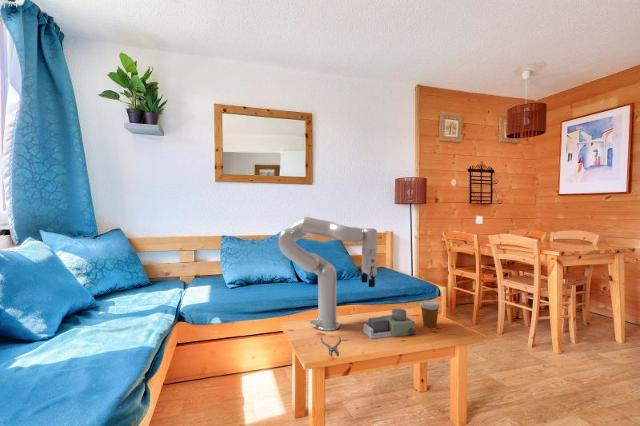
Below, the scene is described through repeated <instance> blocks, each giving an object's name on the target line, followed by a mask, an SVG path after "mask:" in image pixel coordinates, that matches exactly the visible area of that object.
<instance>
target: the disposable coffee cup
mask: <svg viewBox="0 0 640 426" xmlns="http://www.w3.org/2000/svg"><path fill="white" fill-rule="evenodd" d="M420 308H421V317H422V323H423V327H426V328H429V329H434V328H436V327H437V322H438V315H439V308H440V305H439V303H438V302H437V301H433V300H422V301H421V302H420Z"/></svg>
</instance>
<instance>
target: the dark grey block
mask: <svg viewBox="0 0 640 426" xmlns="http://www.w3.org/2000/svg"><path fill="white" fill-rule="evenodd" d="M368 325H369V326H370V327H371V328H372V329H373V333H380V332H387V331H388V320H387V319H386V318H384V317H381V316H378V317H377V316H376V317H369V318H368Z"/></svg>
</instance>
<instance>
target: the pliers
mask: <svg viewBox="0 0 640 426" xmlns="http://www.w3.org/2000/svg"><path fill="white" fill-rule="evenodd" d="M337 338H338V339H339V340H338V341H337V342H336V343H335V344H334V345H333V346H331V345H329V344H328V343H326V342H324V341H323V336H321V337H320V342H321V343H322V344H323V345H325V346H326V347H327V348H328V352H327V353H328V355H329V356H330V357H332V353H333V352H334V354H335V355H336V356H337V357H339V350H338V345H339V344H340V343H341V342H342V341H341V336H338V337H337Z"/></svg>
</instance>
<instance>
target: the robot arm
mask: <svg viewBox="0 0 640 426" xmlns="http://www.w3.org/2000/svg"><path fill="white" fill-rule="evenodd" d="M306 235H315V236H319V237H322V238H323V237H324V238H329V239H333V240H338V241H343V242H348V243H353V244H357V243H360V242H361V255H362V257H361V266H360V267H361V273H360V274H361V281H360V282H361V283H368V288H375V287H376V276H377V274H378V271H377V270H378V267H377V266H378V264H377V263H378V262H377V246H378V245H377V239H378V230H377V229H375V228H370V227H369V228H368V227H366V228H364V227H363V228H362V227H361V228H360V227H357V226H356V227H354V226H353V227H352V226H347V225H342V224H339V223H336V222H333V221H329V220H324V219H320V218H315V217H314V218H313V217H310V216H305V217H302V218H301V219H300V220H299V221H298V222H296V223H294V224H293V225H291V226H289V227H287V228H285V229H283V230H281V232H280V233H279V236H278V241H277V242H278V248H279V250H280V252H281V254H282V255H284V257H286V258H288V259H289V260H290V261H291V262H293V263H294V264H295V265H297V266H298V267H300V268H301V269H302V270H304V271H306V272H307V273H314V274H315V275H317V283H318V284H317V289H318V290H317V292H318V293H317V294H318V295H317V296H318V297H317V298H318V302H317V303H318V308H317V309H318V316H316V318H314V319H309V324H310V325H312V326H315V328H316V329H318V330H319V331H325V332H326V331H328V332H330V331H336V330H338V329H339V328H340V323H339V322H338V321H337V277H338V276H337V270H336V268H335V265H333V264H332V263H330V262H329V261H327V260H326V259H324V258H323V257H322V256H320V255H318V254H317V253H315V252H309V251H307V250H305V249H304V248H303V247H301V246H299V245H298V244H297V243H296V241H298V240H300V239H301V238H303V237H305V236H306Z"/></svg>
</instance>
